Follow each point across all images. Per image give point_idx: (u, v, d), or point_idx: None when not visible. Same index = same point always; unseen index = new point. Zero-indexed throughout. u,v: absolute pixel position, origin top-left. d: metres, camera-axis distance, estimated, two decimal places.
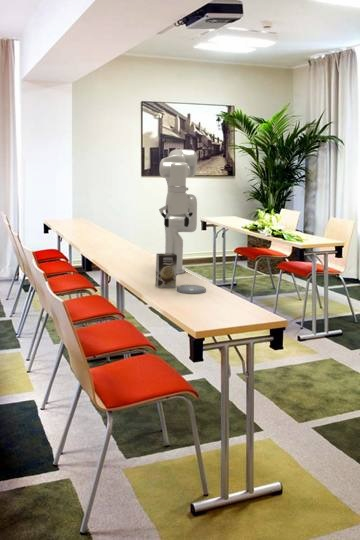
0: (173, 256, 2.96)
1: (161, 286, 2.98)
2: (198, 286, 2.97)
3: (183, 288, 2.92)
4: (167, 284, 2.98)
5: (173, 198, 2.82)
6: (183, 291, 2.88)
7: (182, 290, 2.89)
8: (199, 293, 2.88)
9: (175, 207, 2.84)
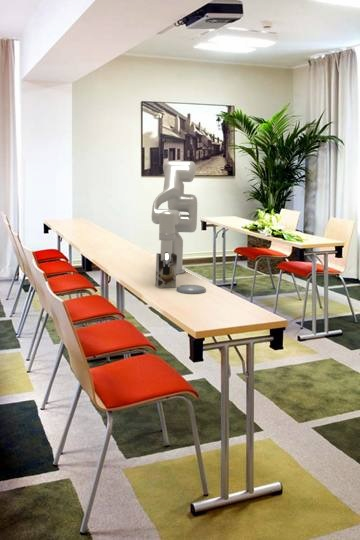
0: (173, 256, 2.96)
1: (161, 286, 2.98)
2: (198, 286, 2.97)
3: (183, 288, 2.92)
4: (167, 284, 2.98)
5: (171, 246, 2.95)
6: (183, 291, 2.88)
7: (182, 290, 2.89)
8: (199, 293, 2.88)
9: None
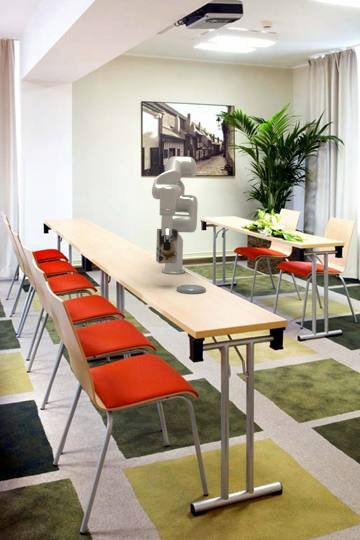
0: (174, 231, 2.94)
1: (162, 262, 2.96)
2: (198, 286, 2.97)
3: (183, 288, 2.92)
4: (168, 260, 2.97)
5: (172, 221, 2.93)
6: (183, 291, 2.88)
7: (182, 290, 2.89)
8: (199, 293, 2.88)
9: None
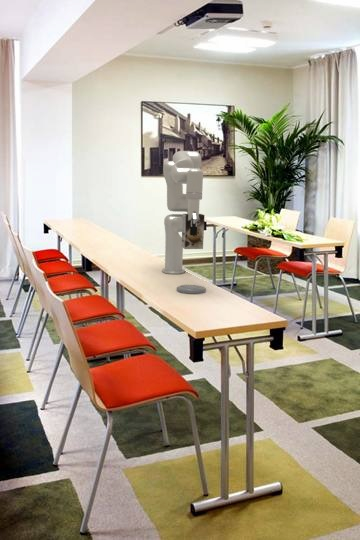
0: (200, 215, 2.85)
1: (188, 247, 2.86)
2: (198, 286, 2.97)
3: (183, 288, 2.92)
4: (194, 245, 2.87)
5: None
6: (183, 291, 2.88)
7: (182, 290, 2.89)
8: (199, 293, 2.88)
9: None
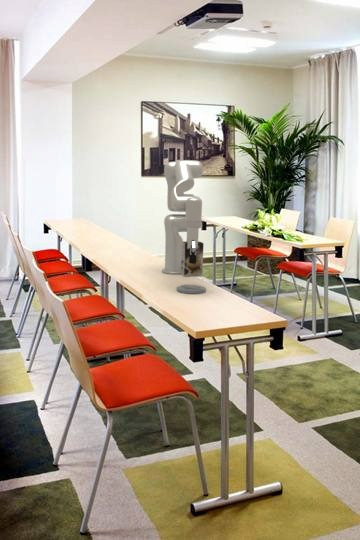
0: (200, 244, 2.87)
1: (187, 275, 2.89)
2: (198, 286, 2.97)
3: (183, 288, 2.92)
4: (193, 273, 2.89)
5: None
6: (183, 291, 2.88)
7: (182, 290, 2.89)
8: (199, 293, 2.88)
9: None
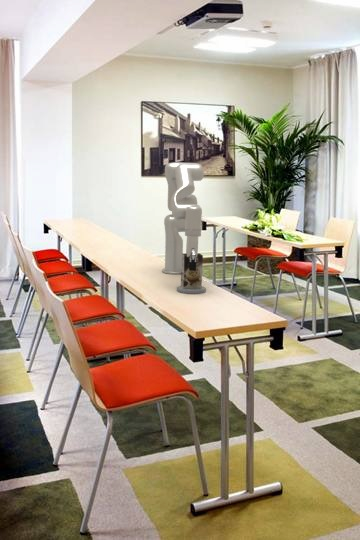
0: (199, 256, 2.89)
1: (186, 287, 2.91)
2: None
3: None
4: (193, 285, 2.91)
5: None
6: (183, 291, 2.88)
7: (182, 290, 2.89)
8: (199, 293, 2.88)
9: None
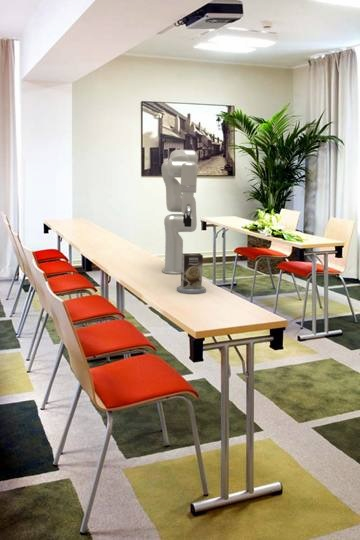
0: (199, 256, 2.89)
1: (186, 287, 2.91)
2: None
3: None
4: (193, 285, 2.91)
5: (193, 198, 2.89)
6: (183, 291, 2.88)
7: (182, 290, 2.89)
8: (199, 293, 2.88)
9: None
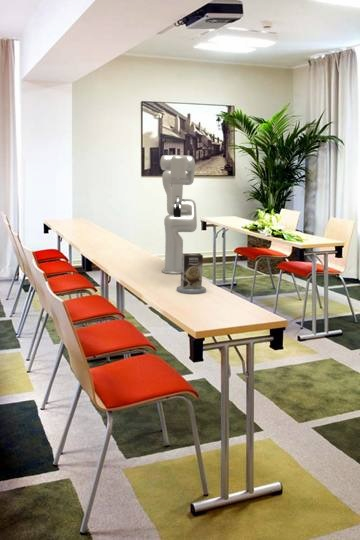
0: (199, 256, 2.89)
1: (186, 287, 2.91)
2: None
3: None
4: (193, 285, 2.91)
5: (182, 190, 3.01)
6: (183, 291, 2.88)
7: (182, 290, 2.89)
8: (199, 293, 2.88)
9: None
